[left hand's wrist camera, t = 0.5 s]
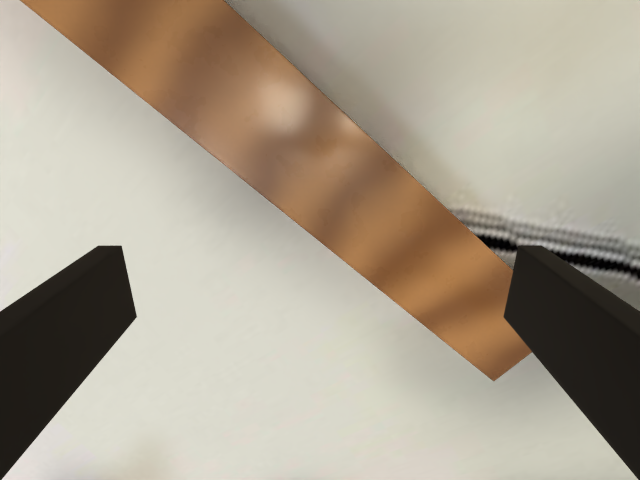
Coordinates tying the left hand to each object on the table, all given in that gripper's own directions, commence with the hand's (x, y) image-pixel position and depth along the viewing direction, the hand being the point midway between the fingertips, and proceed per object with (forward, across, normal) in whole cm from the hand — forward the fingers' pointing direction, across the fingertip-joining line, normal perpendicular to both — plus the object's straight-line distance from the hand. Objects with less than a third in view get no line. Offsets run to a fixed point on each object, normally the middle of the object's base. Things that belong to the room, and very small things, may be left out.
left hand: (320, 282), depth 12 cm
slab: (+25, -2, +2) cm, 25 cm away
